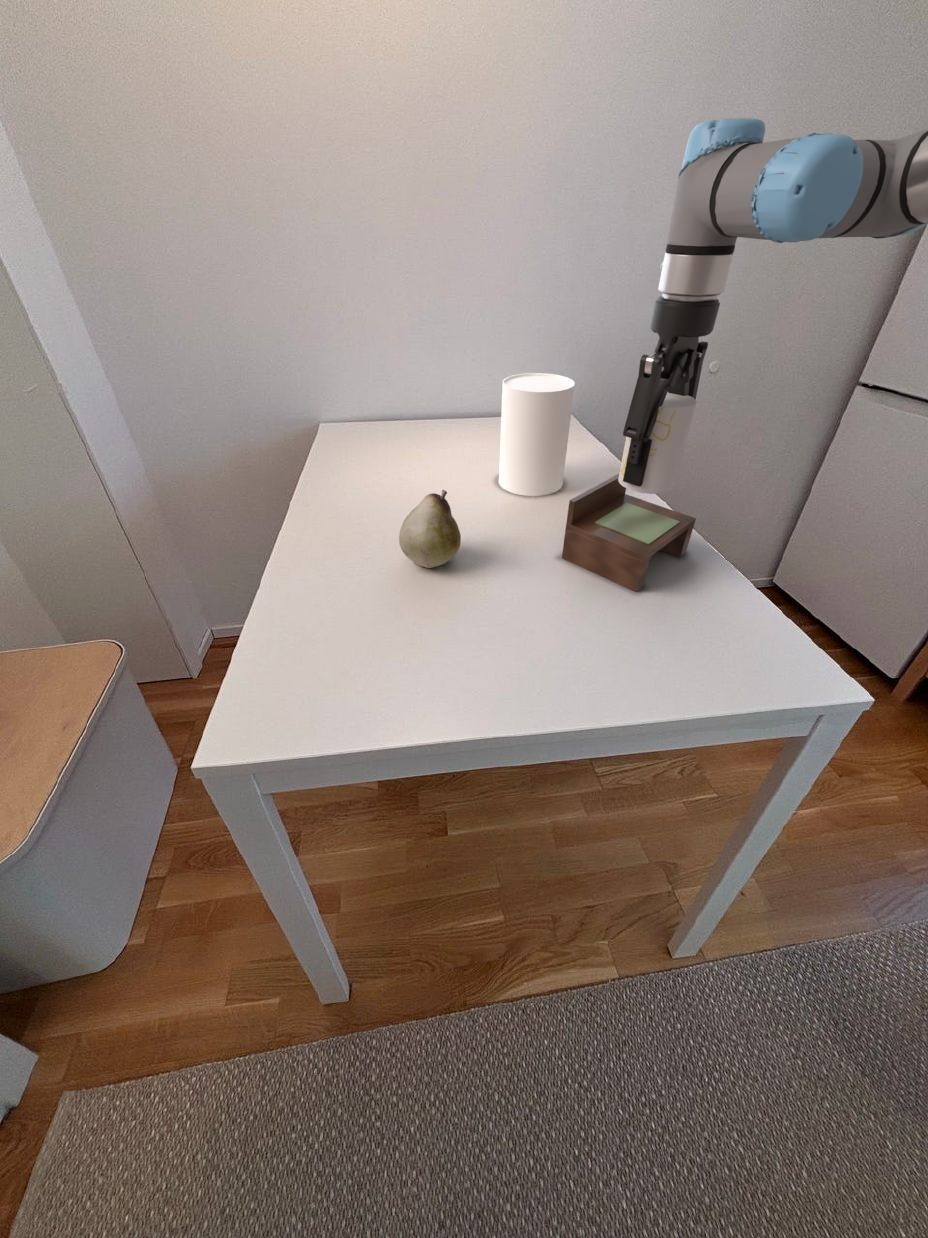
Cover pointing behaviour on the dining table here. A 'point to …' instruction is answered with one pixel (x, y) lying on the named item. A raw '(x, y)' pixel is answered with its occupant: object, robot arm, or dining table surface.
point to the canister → (534, 432)
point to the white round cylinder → (664, 445)
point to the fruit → (430, 532)
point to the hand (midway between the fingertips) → (647, 474)
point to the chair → (621, 533)
